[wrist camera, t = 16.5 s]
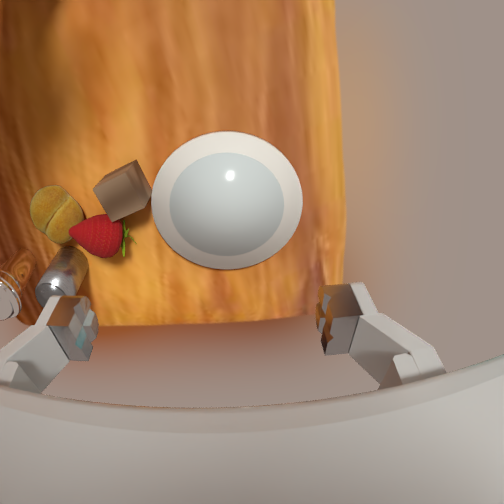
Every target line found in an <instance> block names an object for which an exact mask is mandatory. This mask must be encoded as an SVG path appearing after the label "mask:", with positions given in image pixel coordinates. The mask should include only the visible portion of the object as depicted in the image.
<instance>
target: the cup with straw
mask: <svg viewBox="0 0 504 504" xmlns="http://www.w3.org/2000/svg"><path fill="white" fill-rule="evenodd" d="M35 267H36V259H35V257H34V255H33V254H32V253H31V252H30V251H29V250H28V249H25V248H20V249H18V250H17V252H15V253H14V254H13V255H12V256H11V257H10V258H9V259H7V260H6V261H5V262H4V263H3V264H2V265H1V266H0V321H2V320H6V319H8V318H13V317H15V316H17V315H18V314H19V313H20V311H21V307H22V305H21V298H22V295H23V291H24V289H25V287H26V285H27V283H28V281H29V279H30V277H31V275H32V273H33V271H34V268H35Z"/></svg>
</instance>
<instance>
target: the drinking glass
mask: <svg viewBox="0 0 504 504" xmlns="http://www.w3.org/2000/svg"><path fill="white" fill-rule="evenodd" d="M88 266H89V265H88V260H87V258H86V256H85V255H84V254H83V253H82V252H81V251H80V250H79V249H77V248H75V247H72V246H65V247H62V248H61V249H60V250H59V251H58V252H57V254H56V255H55V257H54V258H53V260H52V262H51V263H50V265H49V266H48V268H47V270H46V271H45V273H44V274H43V276H42V278H41V279H40V281H39V283H38V284H37V286H36V289H35V294H36V298H37V300H38V302H39V303H40V305H41V306H42V307H45V305H46V303H47V301H48V300H49V298H50V297H51V296H53V295H57V296H63V295H66V296H76V294H77V291H78V289H79V287H80V285H81V283H82V281H83V279H84V277H85V274H86V272H87V270H88Z"/></svg>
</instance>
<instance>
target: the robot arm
mask: <svg viewBox="0 0 504 504" xmlns="http://www.w3.org/2000/svg"><path fill="white" fill-rule="evenodd" d="M318 297H319V301H320V302H319V303H318V304H317V305H316V325H317V329H318V331H319V332H320V333H321V334H322V337H321V343H322V347H323V350H324V354H325V355H335V354H345V353H349V355H350V356H351V357H352V358H353V359H354V360H355V361H356V362H357V363H358V364H359V365H360V366H361V367H362V368H363V369H365V370H366V371H367V372H368V373H369V374H370V375H371V376H372V377H373V378H374V379H375V380H376V381H377V382H378V383H379V384H380V386H379V388H378V390H375V391H370V392H365V393H359V394H353V395H348V396H341V397H335V398H328V399H321V400H313V401H305V402H296V403H287V404H275V405H263V406H249V407H226V408H225V407H224V408H168V407H145V406H131V405H118V404H108V403H98V402H89V401H82V400H75V399H67V398H61V397H55V396H50V395H44V394H42V391H43V390H44V389H45V388H46V387H47V386H48V385H49V384H50V382H51V381H52V380H53V379H54V378H55V377H56V376H57V375H58V374H59V372H60V371H61V370H62V369H63V368H64V367H65V366H66V365H67V363H68V362H69V360H76V361H89V357H90V355H91V352H92V349H93V346H92V344H91V342H92V341H93V340H94V339H96V337H97V334H98V325H99V324H98V319H97V316H96V314H95V313H94V312H93V311H92V310H91V309H90V306H91V303H90V301H89V299H88V297H86V296H66V295H63V296H57V295H53V296H51V297H50V298H49V300H48V301H47V303H46V305H45V307H44V309H43V311H42V312H41V314H40V316H39V318H38V320H37V322H36V324H35V325H31V326H30V327H29V328H27V329H26V330H25V331H23V332H22V333H21V334H19V335H18V336H17V337H16V338H14V339H13V340H12V341H10V342H9V343H8V344H7V345H5V346H4V347H3V348H2V349H0V504H504V354H503V355H500V356H498V357H495V358H492V359H489V360H486V361H483V362H481V363H478V364H475V365H471V366H468V367H465V368H462V369H459V370H456V371H452V372H449V373H446V371H445V369H444V367H443V365H442V363H441V361H440V359H439V357H438V355H437V353H436V351H435V349H434V347H433V346H432V345H430V344H429V343H427V342H425V341H424V340H423V339H421V338H419V337H418V336H416V335H415V334H413V333H412V332H410V331H409V330H407V329H406V328H404V327H403V326H401V325H400V324H398V323H396V322H395V321H393V320H392V319H390V318H389V317H388V316H386V315H385V314H383V313H381V314H379V313H378V311H377V309H376V307H375V305H374V303H373V301H372V299H371V297H370V295H369V293H368V291H367V289H366V287H365V285H364V284H363V283H362V282H355V283H348V284H337V285H325V286H320V287H319V290H318Z"/></svg>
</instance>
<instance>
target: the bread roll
mask: <svg viewBox="0 0 504 504" xmlns="http://www.w3.org/2000/svg"><path fill="white" fill-rule="evenodd" d="M30 215H31V218H32V221H33V223H34V225H35V227H36V228H37V229H38V230H40V231H41V232H43V233H45V234H46V235H47V236H48V238H49V239H50V240H51V241H53V242H55V243H60V244H63V243H65V242H67V241H69V240H71V239H72V237H71V236H70V235H69V233H68V231H69V229H70V228H71V227H72V226H75V225H76V224H78V223H80V222H82V221H84V216H83V211H82V209H81V207H80V205H79V204H78V203H77V201H76V200H75V199H73V198H72V197H71V196H70V195H69V194H68V193H67V191H66V190H64V189H63V188H62V187H61V186H58V185H52V186H46V187H44V188H41V189H40V190H38V191H37V192H36V194H35V195H34V197H33V198H32V200H31V204H30Z"/></svg>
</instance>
